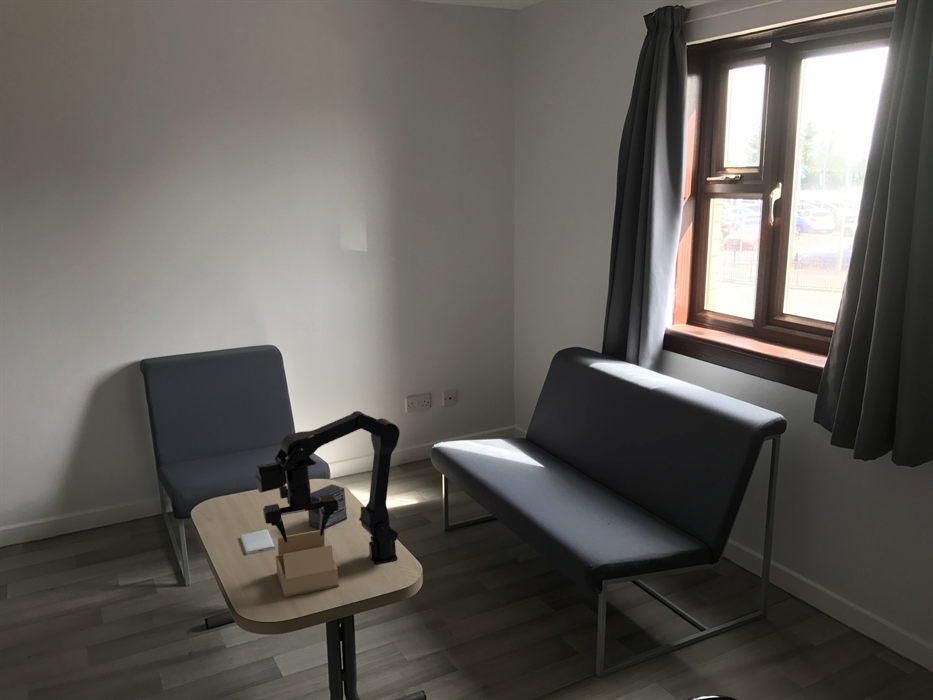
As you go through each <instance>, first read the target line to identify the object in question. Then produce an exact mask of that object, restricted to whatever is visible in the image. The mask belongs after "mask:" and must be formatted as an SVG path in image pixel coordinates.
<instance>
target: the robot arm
mask: <svg viewBox="0 0 933 700" xmlns="http://www.w3.org/2000/svg"><path fill="white" fill-rule="evenodd" d="M361 429H362V430H363V431H366V432H368V433H370V437H371V438H370V439H371V440H370V441H371V444H372V447H373V451H374V452H373V460H372V470H371V479H370V480H371V481H370V490H369V498H368V499H369V500H368V502H367V504H366V505H365V506H361V507H360V515H359V516H360V517H359V518H358V521H360V524H361V526H362V527H363V529H364V530H365V531H366V532H368V534H370V535H371V536H370V541H369V542H368V548H369V550H368V552H369V557H370V559H371V560H372V561H373V563H374V564H375V565H377V564H383V563H387V562H392V561H396V560H398V556H397V553H396V550H397V548H396V541H397V540H398V537H399V532H398V531H396V530H395V529H394V528H393V527H392V526H391V525H390V514H389V511H388V507H387V499H388V489H389V480H390V479H389V478H390V470H391V460H392V454H393V452H394V451H395V449H396V448H397V446H398V442H399V438H400V434H401V433H400V429H399V427H398V426H397V424H394V423H393V422H391V421H389V420H388V419H386V418H383V417H381V418H378V419H377V418H375V417H372V416H370V415H368V414H366V413H363V412H362V411H361V410H360V411H359V410H356V411H353V412H352V413H350V414H348V415H346V416H343V417H341V418H338V419H336V420H334V421H332V422H330V423H328V424H325V425H323V426H320V427H318V428H316V429H313V430H309V431H308V430H305V431H298V432H294V433H290V434H287V435H286V436H285V437H283V438H282V441H281V444H280V448H279V450H278V452H277V454H276V455H275V457H274V459H273V460H274V462H272V463H271V462H270V463H267V464H259V465H256V472H255V483H256V487H257V490H258V492H259V493H261V494H262V493H264V492H269V491H270V492H271V491H274V490H277V489H279V497H280V500H281V499H286V500H287V501H286V502H287V504H288V506H284V507H280V505H279V503H275V504H269V505H264V507H263V508H262V512H263V513H262V514H263V518H264V520H265V524H269V525H270V524H271V526H272V527H273V526H276V528H277V530H278V531H279V532H280V535H281V537H283V539H284V541H285V543H287V537H286V536H287V533H286V529H285V525H284V522H283V519H282V518H283V517H282V516H286V515H291V514H292V515H293V514H296V513H302V512H308V510H314V509H319V511H320V535H321V536H322V535H323V532H324V533H325V530H326V529H325V526H326V523H327V521H328V519H329V517H330V515H333V514H334V511H338V510H339V509H338V501H337V499H336V498H335V496H334V495H333V494H329V495H324V496H320V498H319V499H320V501H316V502H311V493H312V492H311V483H310V482H311V480H310V471H309V467H310V466H314V465H315V466H316V465H317V461H315V460H314V459H313V458H311V456H312V455H314V453H315V452H316V451H317V450H318V449H319V448H321V447H323V446H325V445H326V444H327V445H328V444H329V443H331V442H334V441H335V440H339V439H340V438H343V437H345V436H347V435H350V434H352V433H354V432H357V431H359V430H361Z"/></svg>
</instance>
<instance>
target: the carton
mask: <svg viewBox="0 0 933 700" xmlns="http://www.w3.org/2000/svg"><path fill="white" fill-rule="evenodd" d="M275 563H276V564H275V565H276V575H277V576H278V577H279V578H278V577H277V578H278V581H279V584H280V588H281V590H282V594H283V598H284V597H285V598H289V596H290V597H293V595H295V596H297V595H296V594H300V595H302V594H301V593H305V594H309V593H313V592H317V591H318V592H319V591H323V590H327V589H332V588H338V587H339V586H340V585H339V570H338V567H337V565H336V563H335V561H334V568H335V569H334V570H329V571H324V572H319V573H314V574H309V575H304V576H299V577H294V578H289V579H286V575H285V567H284V559H283V555H279V554H278V555H275ZM308 592H309V593H308Z"/></svg>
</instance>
